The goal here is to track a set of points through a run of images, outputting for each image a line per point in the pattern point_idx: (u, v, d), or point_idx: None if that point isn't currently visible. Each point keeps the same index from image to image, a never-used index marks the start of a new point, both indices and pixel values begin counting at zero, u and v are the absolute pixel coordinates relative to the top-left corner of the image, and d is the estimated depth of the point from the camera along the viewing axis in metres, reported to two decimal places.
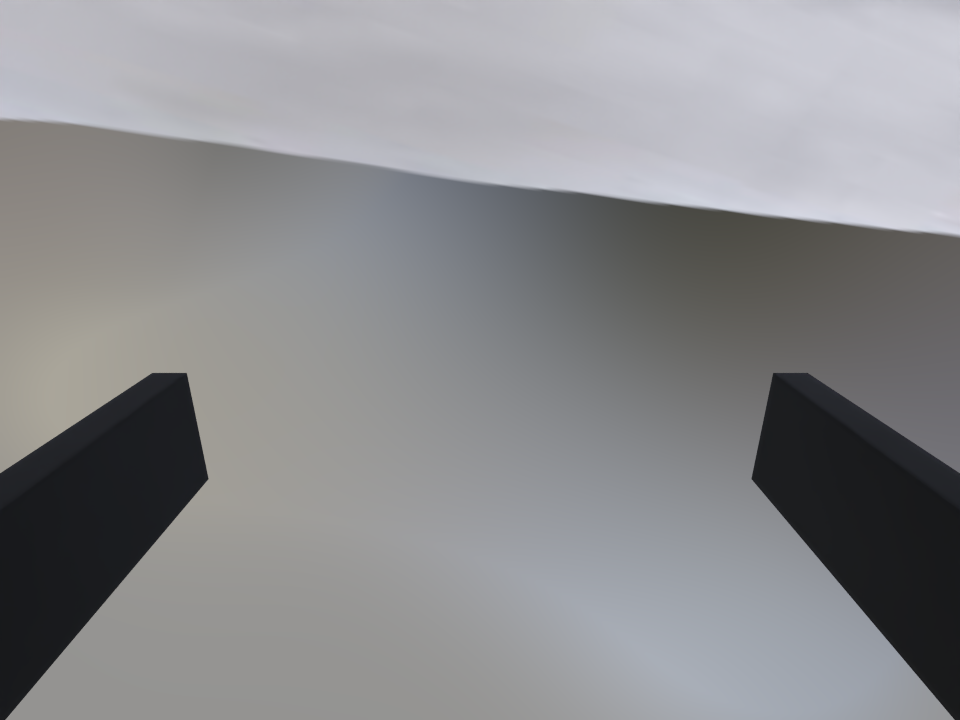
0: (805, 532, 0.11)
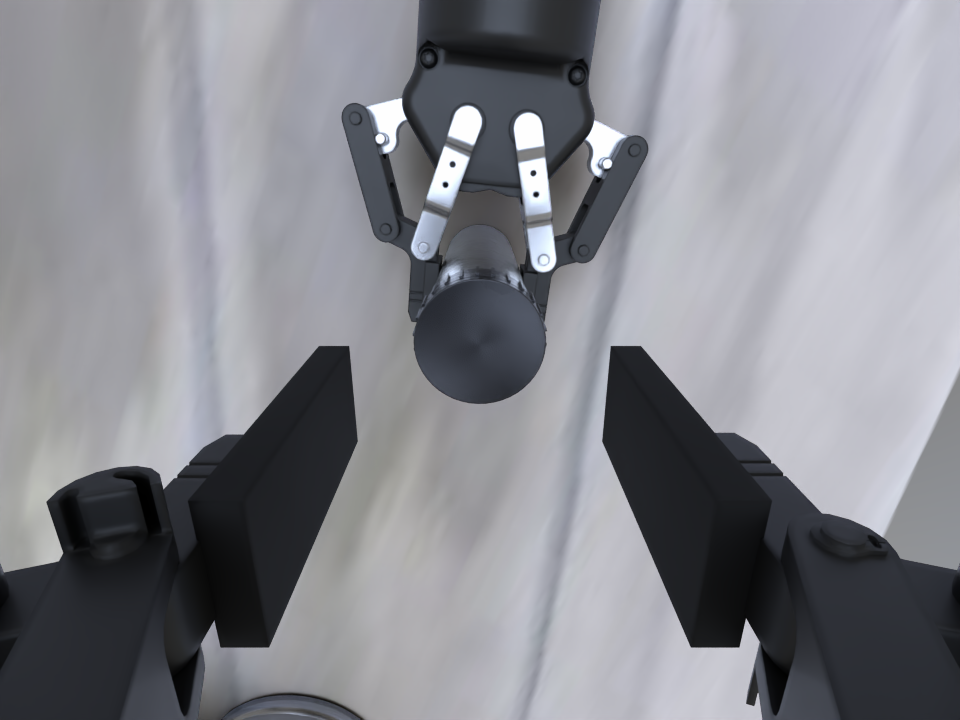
0: (623, 481, 0.12)
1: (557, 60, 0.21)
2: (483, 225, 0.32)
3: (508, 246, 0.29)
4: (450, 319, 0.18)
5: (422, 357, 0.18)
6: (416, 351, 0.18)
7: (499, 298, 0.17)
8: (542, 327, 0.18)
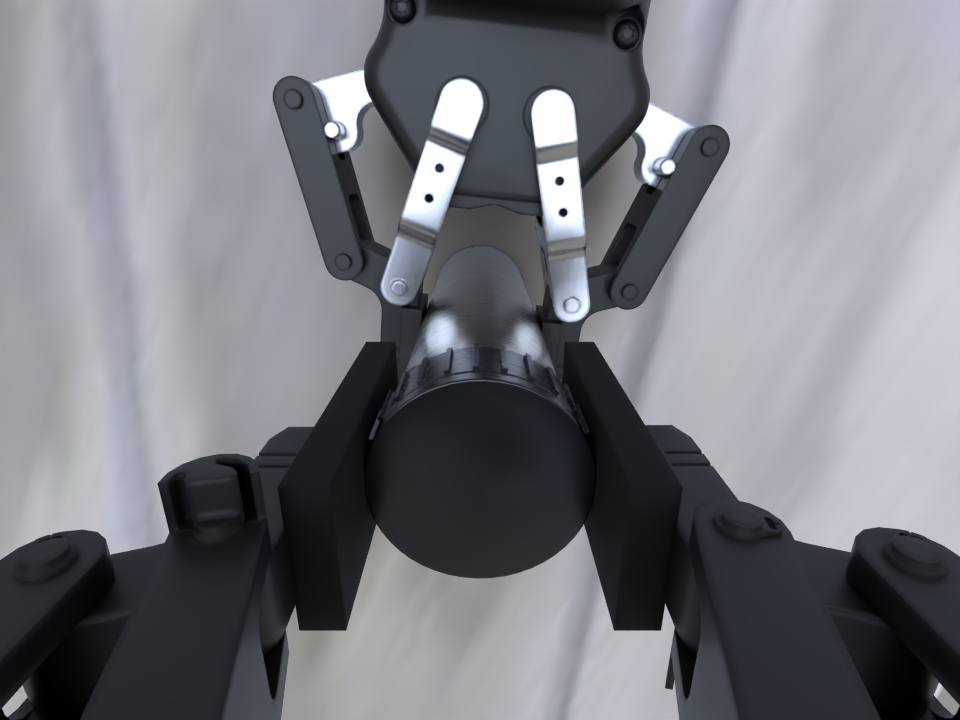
0: None
1: (601, 5, 0.14)
2: (484, 247, 0.24)
3: (519, 279, 0.21)
4: (427, 446, 0.10)
5: (379, 507, 0.10)
6: (368, 498, 0.10)
7: (515, 412, 0.10)
8: (591, 460, 0.10)
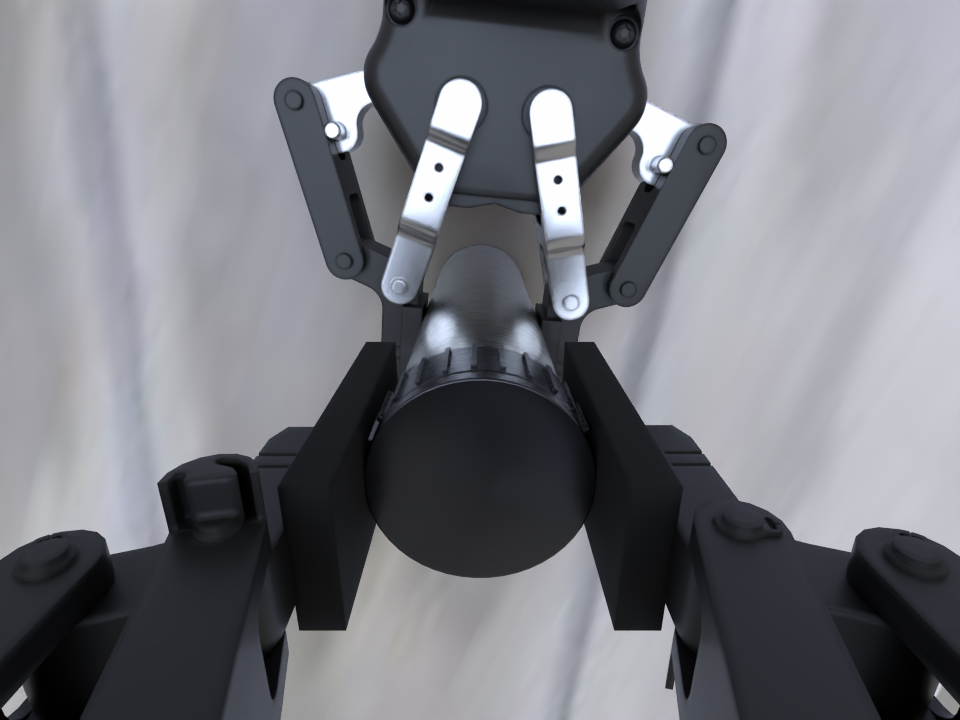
0: None
1: (598, 6, 0.14)
2: (484, 246, 0.24)
3: (518, 277, 0.21)
4: (457, 539, 0.11)
5: (538, 555, 0.11)
6: (530, 566, 0.11)
7: (390, 485, 0.10)
8: (406, 405, 0.10)
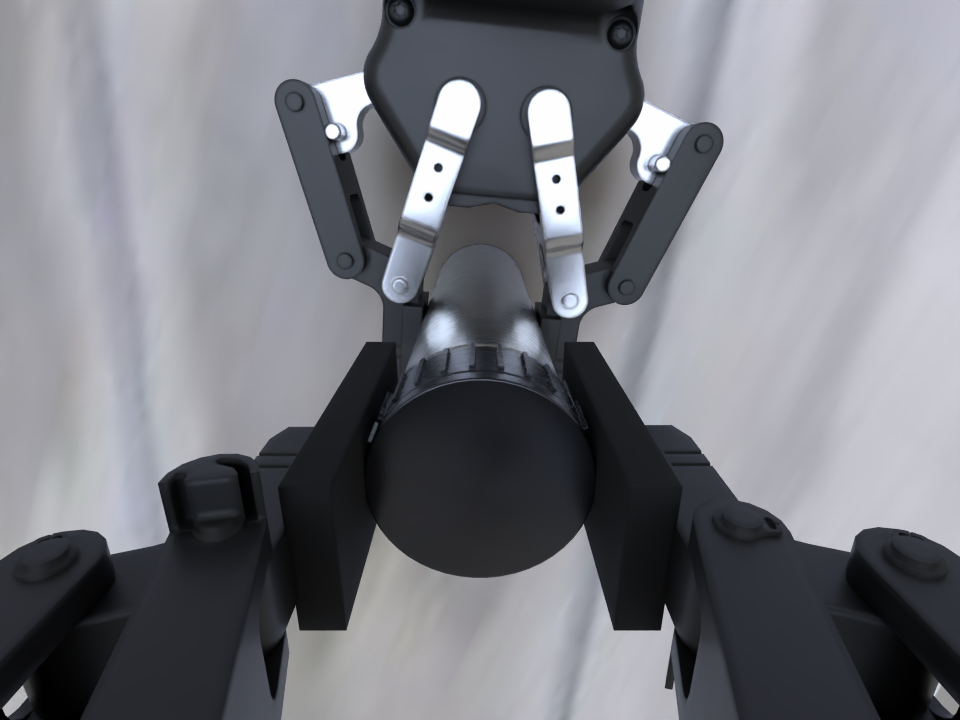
0: None
1: (595, 6, 0.14)
2: (484, 245, 0.24)
3: (518, 276, 0.21)
4: (548, 484, 0.10)
5: (540, 405, 0.10)
6: (557, 408, 0.10)
7: (510, 553, 0.11)
8: (425, 565, 0.11)
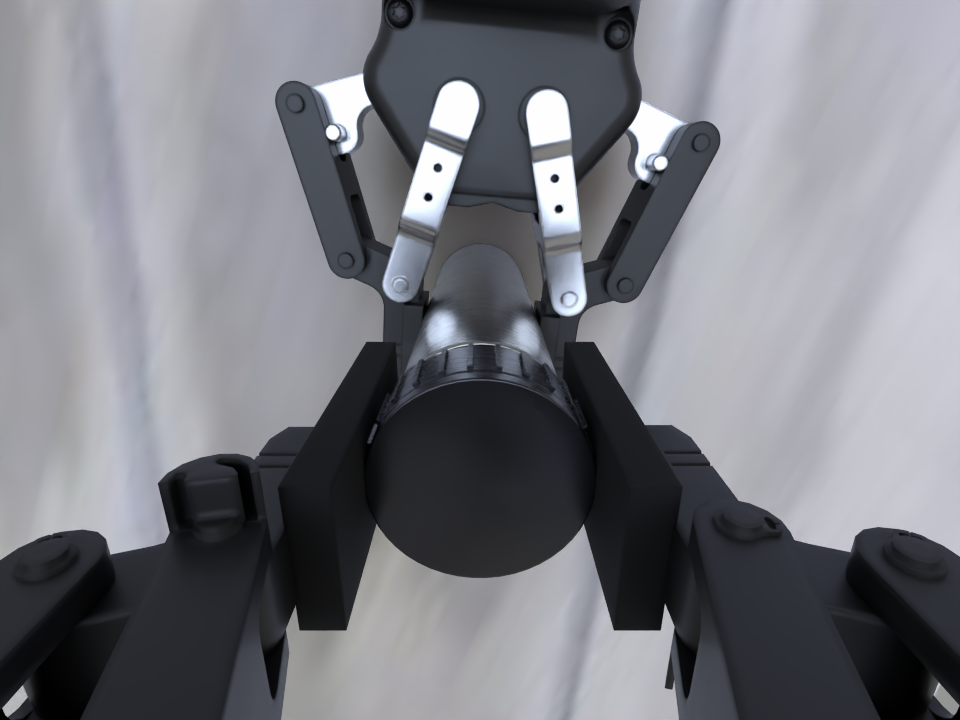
0: None
1: (592, 7, 0.14)
2: (483, 245, 0.25)
3: (517, 275, 0.21)
4: (452, 430, 0.10)
5: (375, 468, 0.10)
6: (370, 455, 0.10)
7: (548, 432, 0.10)
8: (591, 502, 0.10)
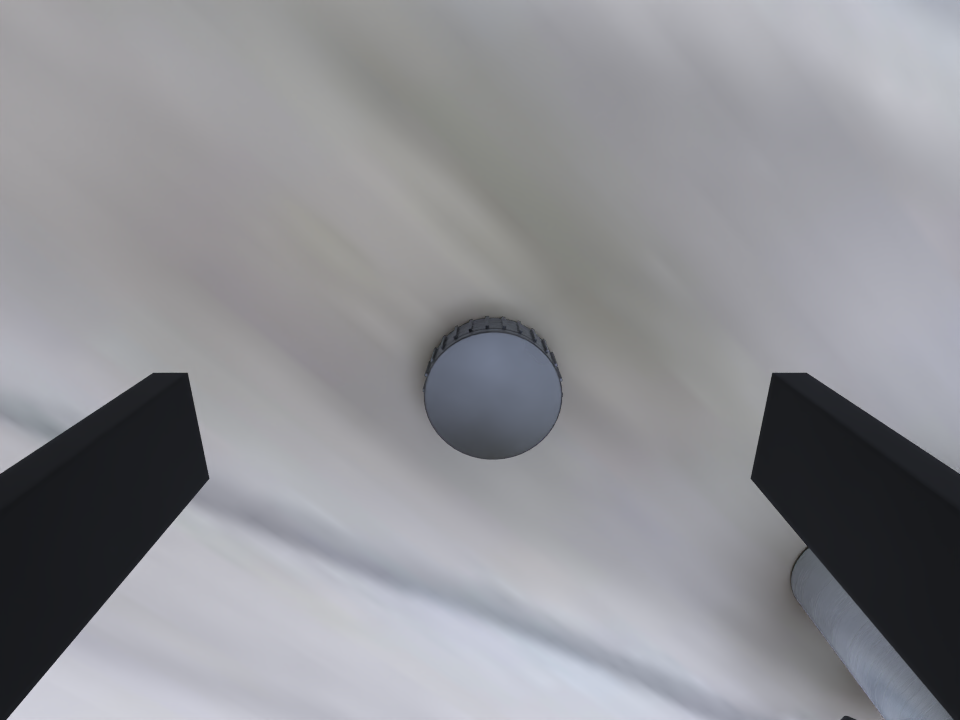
0: (804, 531, 0.11)
1: None
2: None
3: None
4: (476, 363, 0.17)
5: (431, 386, 0.17)
6: (428, 378, 0.17)
7: (532, 364, 0.17)
8: (559, 408, 0.17)
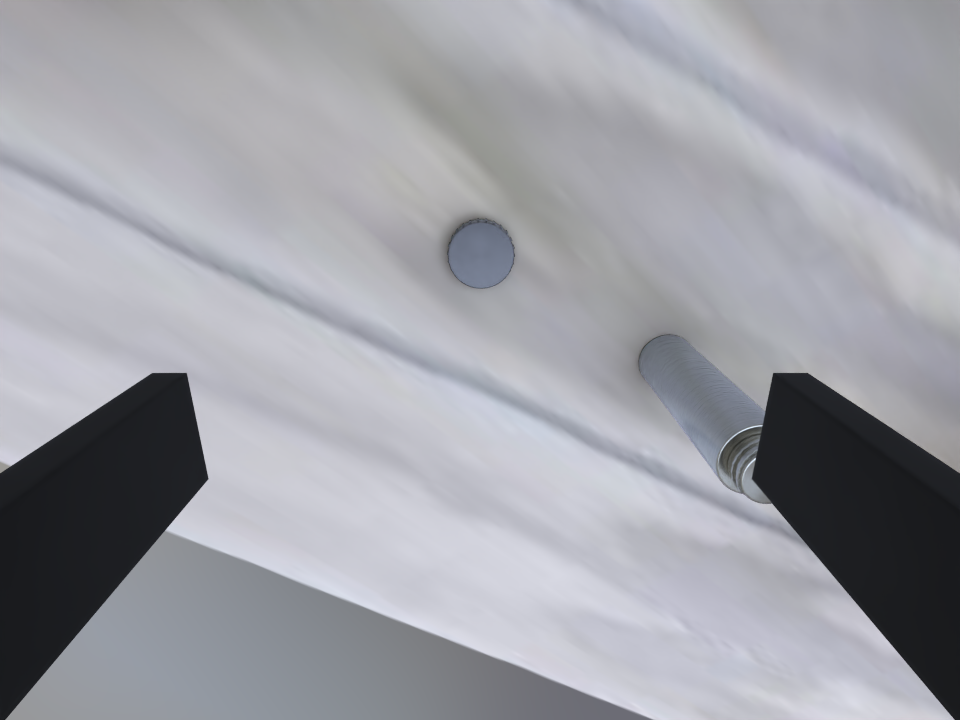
0: (805, 532, 0.11)
1: None
2: None
3: None
4: (473, 238, 0.35)
5: (451, 250, 0.36)
6: (450, 246, 0.35)
7: (499, 238, 0.35)
8: (512, 261, 0.36)
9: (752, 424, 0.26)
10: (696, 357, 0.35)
